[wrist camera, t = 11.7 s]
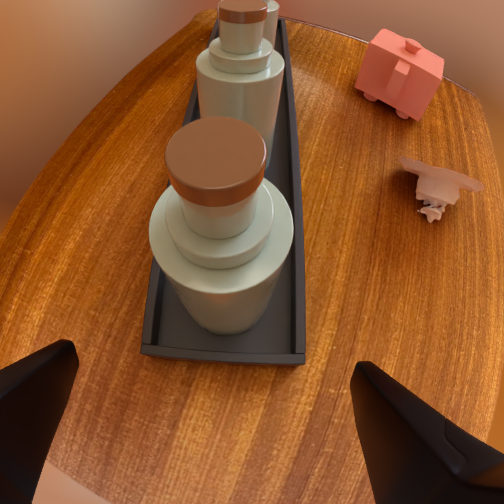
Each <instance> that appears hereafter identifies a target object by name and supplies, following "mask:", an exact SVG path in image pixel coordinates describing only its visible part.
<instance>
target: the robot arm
mask: <svg viewBox="0 0 504 504" xmlns="http://www.w3.org/2000/svg"><path fill="white" fill-rule="evenodd" d="M78 368H79V359H78V356H77V353H76V349H75V346H74V343H73V342H72V341H70V340H66V339H60V340H58V341H56V342H54V343H52V344H50V345H48V346H46V347H44V348H42V349H40V350H38V351H36V352H35V353H33V354H31V355H29V356H27V357H25V358H23V359H21V360H19V361H17V362H15V363H13V364H11V365H9V366H7V367H5V368H3V369H1V370H0V504H32V502H31V501H32V500H33V497H34V494H35V490H36V487H37V484H38V481H39V478H40V475H41V472H42V469H43V466H44V463H45V460H46V457H47V454H48V452H49V449H50V446H51V443H52V441H53V438H54V435H55V433H56V430H57V428H58V425H59V423H60V420H61V418H62V415H63V413H64V410H65V408H66V405H67V403H68V400H69V396H70V393H71V390H72V386H73V383H74V380H75V377H76V374H77V371H78ZM350 390H351V396H352V403H353V409H354V416H355V423H356V428H357V432H358V436H359V440H360V443H361V447H362V451H363V455H364V458H365V462H366V466H367V470H368V474H369V478H370V482H371V486H372V490H373V495H374V499H375V503H376V504H504V454H503V453H501V452H499V451H498V450H496V449H494V448H492V447H491V446H489V445H487V444H485V443H484V442H482V441H480V440H479V439H477V438H475V437H474V436H472V435H470V434H469V433H467V432H466V431H464V430H463V429H461V428H460V427H458V426H457V425H455V424H454V423H453V422H451V421H450V420H449V419H447V418H446V419H445V417H444V416H443V415H442V414H440V413H439V412H438V411H436V410H435V409H434V408H432V407H431V406H429V405H428V404H427V403H425V402H424V401H423V400H421V399H420V398H419V397H417V396H416V395H415V394H413V393H412V392H411V391H409V390H408V389H407V388H405V387H404V386H403V385H401V384H400V383H399V382H397V381H396V380H395V379H393V378H392V377H391V376H389V375H388V374H387V373H385V372H384V371H383V370H381V369H380V368H379V367H377V366H376V365H375V364H373V363H372V362H371V361H359V362H357V364H356V366H355V369H354V372H353V375H352V378H351V381H350Z"/></svg>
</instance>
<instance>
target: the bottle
mask: <svg viewBox="0 0 504 504" xmlns="http://www.w3.org/2000/svg"><path fill="white" fill-rule="evenodd" d="M266 159H267V147H266V143H265V141H264V139H263V137H262V136H261V134H260V133H259V132H258V131H257V130H256V129H255V128H254V127H253V126H251V125H249V124H248V123H246V122H244V121H241V120H239V119H235V118H231V117H223V116H214V117H206V118H201V119H198V120H195V121H193V122H190V123H188V124H186V125H185V126H183V127H182V128H180V129H179V130H178V131H177V132H176V133H175V134H174V135H173V136H172V138H171V139H170V140H169V142H168V144H167V147H166V150H165V164H166V168H167V172H168V176H169V179H170V182H171V185H170V186H169V187H168V188H167V189H166V190H165V191H164V193H163V194H162V195H161V196H160V198H159V199H158V201H157V203H156V204H155V207H154V209H153V211H152V214H151V218H150V223H149V241H150V246H151V249H152V252H153V255H154V257H155V259H156V261H157V263H158V264H159V266H160V268H161V269H162V271H163V273H164V274H165V276H166V278H167V279H168V281H169V283H170V284H171V286H172V288H173V289H174V291H175V293H176V294H177V296H178V297H179V299H180V301H181V302H182V304H183V305H184V307H185V309H186V310H187V312H188V313H189V315H190V316H191V318H192V319H193V320H194V322H195V323H196V324H197V325H198V326H200V327H201V328H202V329H204V330H206V331H207V332H210V333H212V334H216V335H221V336H232V335H237V334H241V333H243V332H245V331H247V330H249V329H251V328H252V327H253V326H255V325H256V324H257V323H258V322H259V320H260V319H261V318H262V316H263V314H264V313H265V310H266V308H267V306H268V303H269V301H270V298H271V296H272V293H273V291H274V288H275V286H276V283H277V281H278V278H279V276H280V273H281V271H282V268H283V266H284V263H285V261H286V258H287V255H288V253H289V250H290V247H291V244H292V240H293V230H294V226H293V218H292V214H291V210H290V208H289V206H288V203H287V202H286V200H285V198H284V197H283V195H282V194H281V193H280V191H279V190H278V189H277V188H276V187H275V186H274V185H273V184H272V183H271V182H269V181H268V180H267V179H265V178H264V174H265V166H266Z"/></svg>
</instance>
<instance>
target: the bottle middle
mask: <svg viewBox="0 0 504 504" xmlns="http://www.w3.org/2000/svg"><path fill="white" fill-rule="evenodd" d="M221 1H222V0H221ZM261 1H264V2H265V3H267V5H268V9H267V18H266V19H265V21H264V32H263V38H264V39H266V40H268V41H269V42H270V43H271V44H272V47H273V49H274V47H275V39H276V30H277V22H278V14H279V4H278V3H277V2H275V1H273V0H261Z"/></svg>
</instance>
